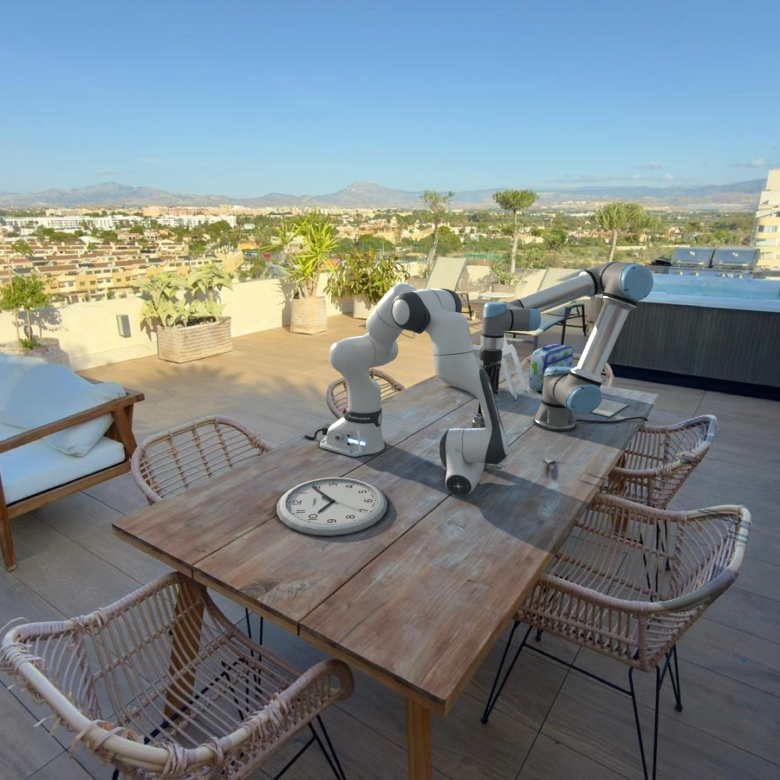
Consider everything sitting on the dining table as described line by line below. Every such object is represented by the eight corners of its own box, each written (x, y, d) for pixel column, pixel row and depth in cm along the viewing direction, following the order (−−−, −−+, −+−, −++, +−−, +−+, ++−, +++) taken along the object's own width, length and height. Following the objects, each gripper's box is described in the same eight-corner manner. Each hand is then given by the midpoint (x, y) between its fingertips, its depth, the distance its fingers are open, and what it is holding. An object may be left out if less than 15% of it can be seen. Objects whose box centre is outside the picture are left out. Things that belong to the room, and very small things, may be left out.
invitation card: (608, 416, 214) (573, 407, 224) (608, 416, 214) (573, 408, 224) (628, 404, 229) (594, 396, 238) (628, 405, 229) (594, 397, 238)
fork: (541, 476, 161) (542, 470, 161) (545, 456, 176) (546, 450, 175) (550, 477, 161) (551, 471, 160) (553, 457, 175) (554, 451, 174)
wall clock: (392, 527, 129) (268, 531, 127) (391, 533, 130) (269, 537, 127) (383, 473, 158) (282, 475, 155) (383, 478, 158) (282, 480, 156)
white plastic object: (461, 429, 252) (437, 405, 227) (444, 352, 274) (420, 323, 250) (535, 404, 240) (518, 377, 215) (510, 326, 262) (492, 293, 237)
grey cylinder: (479, 460, 172) (482, 412, 167) (486, 466, 168) (490, 417, 163) (466, 462, 170) (469, 414, 165) (474, 468, 166) (477, 419, 161)
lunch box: (545, 396, 239) (550, 351, 232) (524, 391, 246) (528, 347, 240) (572, 385, 256) (577, 343, 250) (552, 380, 263) (557, 339, 257)
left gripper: (506, 458, 151) (512, 441, 164) (437, 447, 158) (448, 431, 170) (504, 478, 153) (510, 459, 165) (436, 466, 159) (447, 449, 172)
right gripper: (492, 342, 186) (487, 404, 193) (468, 351, 171) (463, 417, 178) (512, 345, 181) (506, 409, 188) (489, 355, 167) (483, 422, 174)
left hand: (478, 445), depth 168 cm, fingers closed on grey cylinder, 5 cm apart
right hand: (485, 413), depth 183 cm, fingers closed on lid, 5 cm apart
